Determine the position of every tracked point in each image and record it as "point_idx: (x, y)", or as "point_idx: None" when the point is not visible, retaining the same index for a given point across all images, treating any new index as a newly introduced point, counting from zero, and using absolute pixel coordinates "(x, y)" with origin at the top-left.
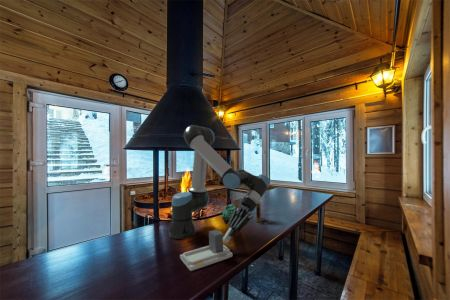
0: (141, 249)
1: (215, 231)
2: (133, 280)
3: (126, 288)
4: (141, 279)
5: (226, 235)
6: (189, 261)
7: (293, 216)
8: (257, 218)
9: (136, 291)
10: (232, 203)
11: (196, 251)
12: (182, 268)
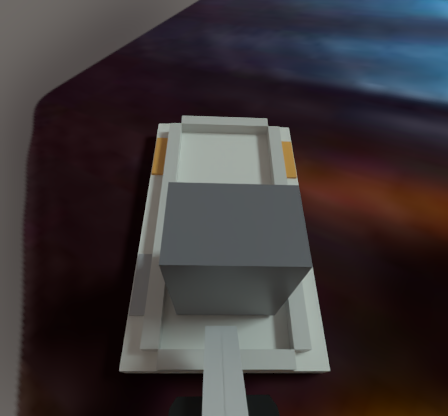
0: (428, 69)
1: (264, 232)
2: (225, 31)
3: (199, 19)
4: (217, 41)
5: (210, 363)
6: (184, 119)
7: None
8: None
9: (171, 28)
10: None
11: (272, 183)
12: None
